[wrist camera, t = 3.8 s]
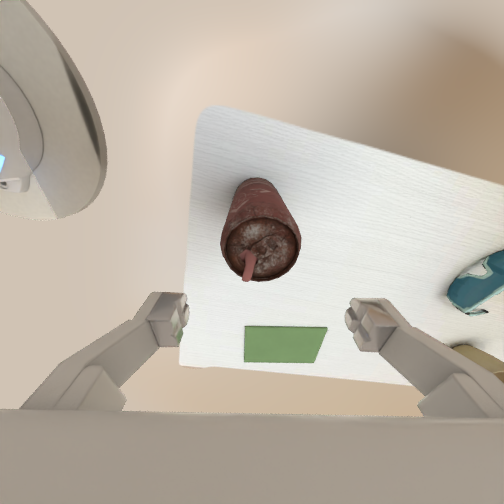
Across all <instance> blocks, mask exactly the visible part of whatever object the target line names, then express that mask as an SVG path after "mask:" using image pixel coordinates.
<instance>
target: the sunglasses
mask: <svg viewBox="0 0 504 504" xmlns="http://www.w3.org/2000/svg"><path fill="white" fill-rule="evenodd" d="M482 265H483V267H484V268H485V269H486V270H487V273H486V274H485V275H483V276H477V275H472V274H466V275H463V276H460V277H457V278H456V279H455V281H454V282H453V283H452V285H451V286H450V287H449V290H448V294H447V297H448V299H449V301H451V302H452V304H453V305H454V306H455V307H456V308H457V309H458V310H460V311H461V312H463V313H465V314H467V315H469V316H477V315H481V314H485V313H488V311H486V310H481V311H477V312H470V311H472V310H473V309H475V308H476V307H478V306H479V305H481V304H482V303H484V302H485V301H487V300H488V299H490V298H491V297H493V296H494V295H498V294H499V293H501V292H502V291H504V251H500V252H497V253H494V254H492V255H490V256H488V257H487V258H486V259H485V261H484V262H483V264H482ZM484 298H485V299H484Z"/></svg>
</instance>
